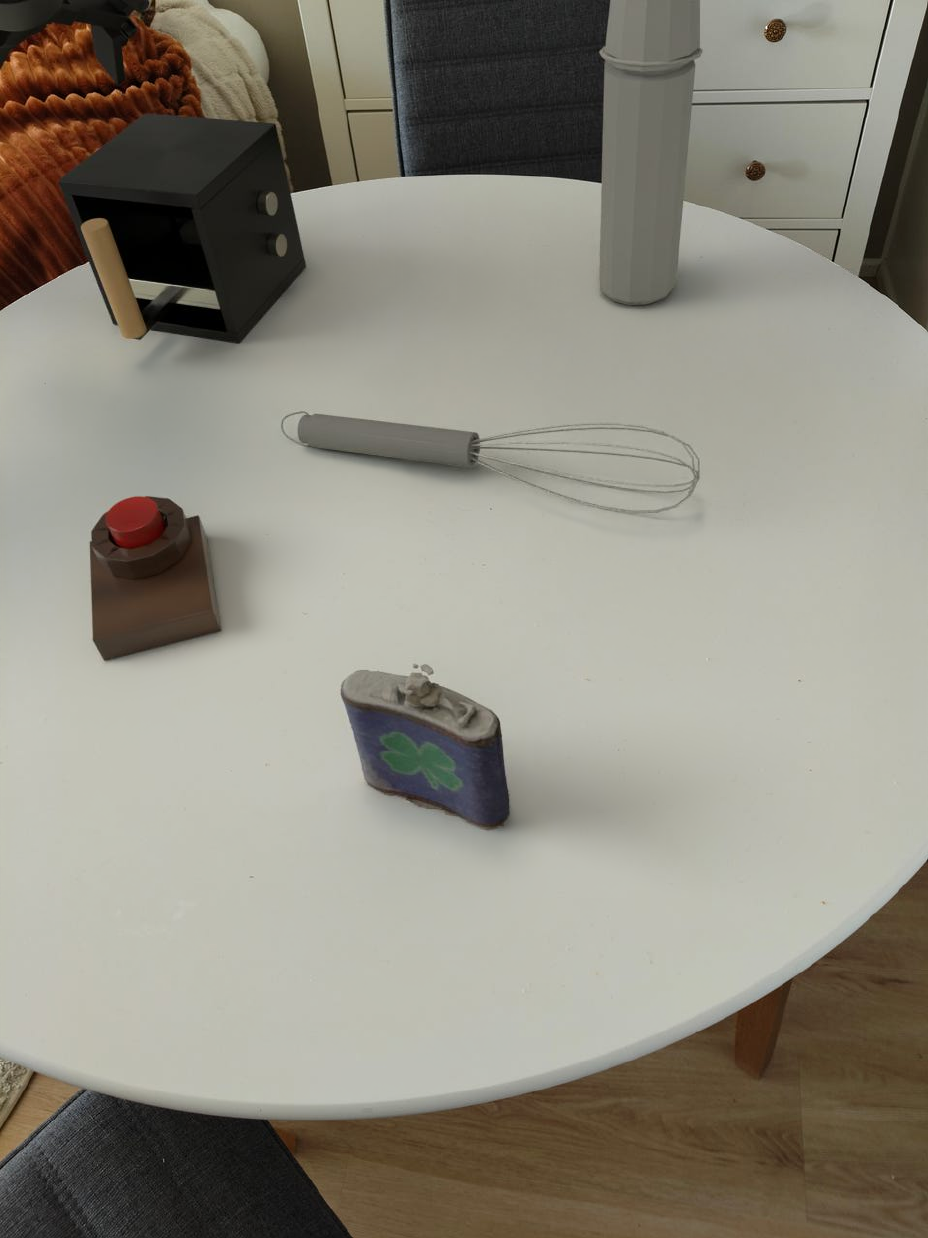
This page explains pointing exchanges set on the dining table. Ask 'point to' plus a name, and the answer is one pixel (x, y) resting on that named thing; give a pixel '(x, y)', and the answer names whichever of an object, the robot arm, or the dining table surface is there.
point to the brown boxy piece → (152, 587)
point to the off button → (135, 522)
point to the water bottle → (645, 144)
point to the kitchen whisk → (456, 446)
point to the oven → (196, 212)
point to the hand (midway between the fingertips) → (42, 113)
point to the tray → (151, 276)
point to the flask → (428, 745)
